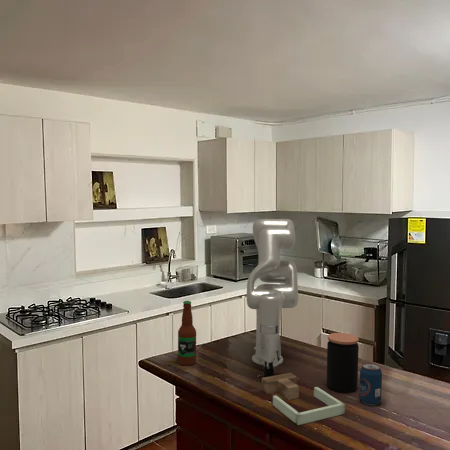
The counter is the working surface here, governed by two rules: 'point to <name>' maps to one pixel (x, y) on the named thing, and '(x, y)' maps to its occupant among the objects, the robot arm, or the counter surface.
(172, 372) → the counter surface
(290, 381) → the t block
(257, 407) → the counter surface
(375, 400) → the soda can
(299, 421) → the frame
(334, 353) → the coffee jar
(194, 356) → the bottle
